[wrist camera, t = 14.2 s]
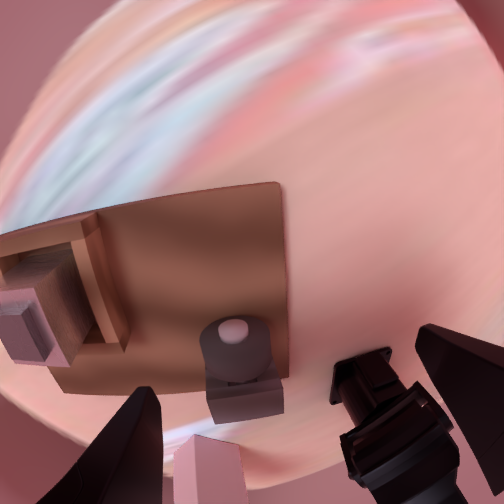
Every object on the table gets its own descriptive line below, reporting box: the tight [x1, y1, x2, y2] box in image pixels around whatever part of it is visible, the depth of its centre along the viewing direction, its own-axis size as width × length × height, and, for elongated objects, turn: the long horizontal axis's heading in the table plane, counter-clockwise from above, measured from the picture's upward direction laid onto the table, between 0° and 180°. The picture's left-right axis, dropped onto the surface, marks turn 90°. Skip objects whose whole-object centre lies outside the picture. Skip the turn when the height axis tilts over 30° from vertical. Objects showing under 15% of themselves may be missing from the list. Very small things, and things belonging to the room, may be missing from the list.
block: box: [0, 249, 96, 367], centre depth 13 cm, size 5×5×7 cm
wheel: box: [199, 316, 272, 385], centre depth 17 cm, size 6×4×4 cm
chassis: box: [0, 182, 289, 424], centre depth 16 cm, size 16×22×6 cm
